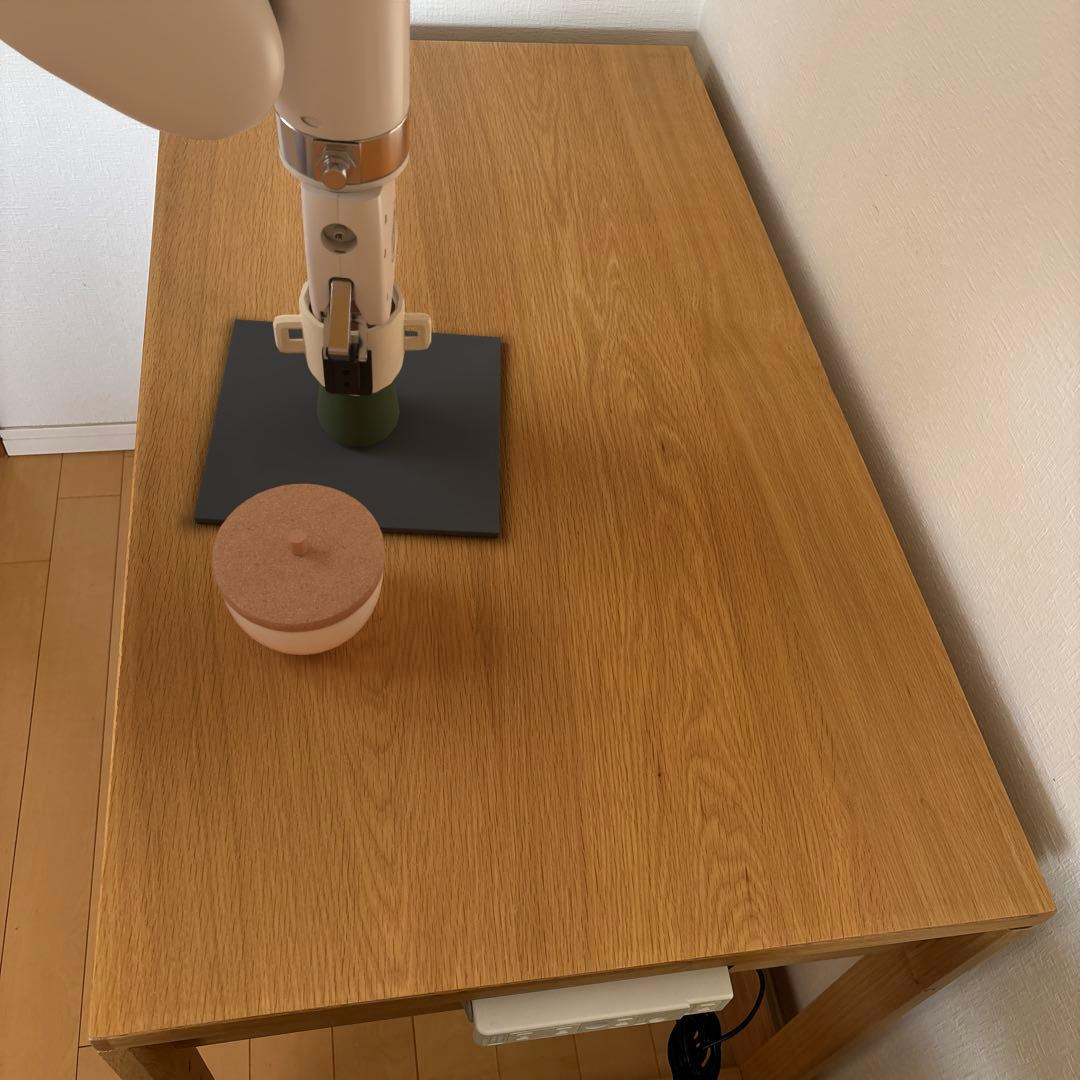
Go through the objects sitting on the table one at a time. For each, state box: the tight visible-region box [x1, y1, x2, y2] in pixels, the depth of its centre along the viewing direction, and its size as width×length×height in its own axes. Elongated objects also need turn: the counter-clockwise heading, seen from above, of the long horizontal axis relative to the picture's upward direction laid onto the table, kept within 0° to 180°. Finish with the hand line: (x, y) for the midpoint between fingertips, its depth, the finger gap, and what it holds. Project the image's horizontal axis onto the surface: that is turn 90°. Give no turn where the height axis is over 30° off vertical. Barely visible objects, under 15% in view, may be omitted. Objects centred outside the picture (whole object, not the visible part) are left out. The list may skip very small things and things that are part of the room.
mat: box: [193, 318, 502, 538], centre depth 80 cm, size 22×20×1 cm
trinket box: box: [211, 484, 386, 656], centre depth 67 cm, size 11×11×9 cm
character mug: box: [272, 279, 433, 447], centre depth 75 cm, size 11×7×13 cm, turn 98°
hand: (355, 343), depth 73 cm, fingers open, 8 cm apart
